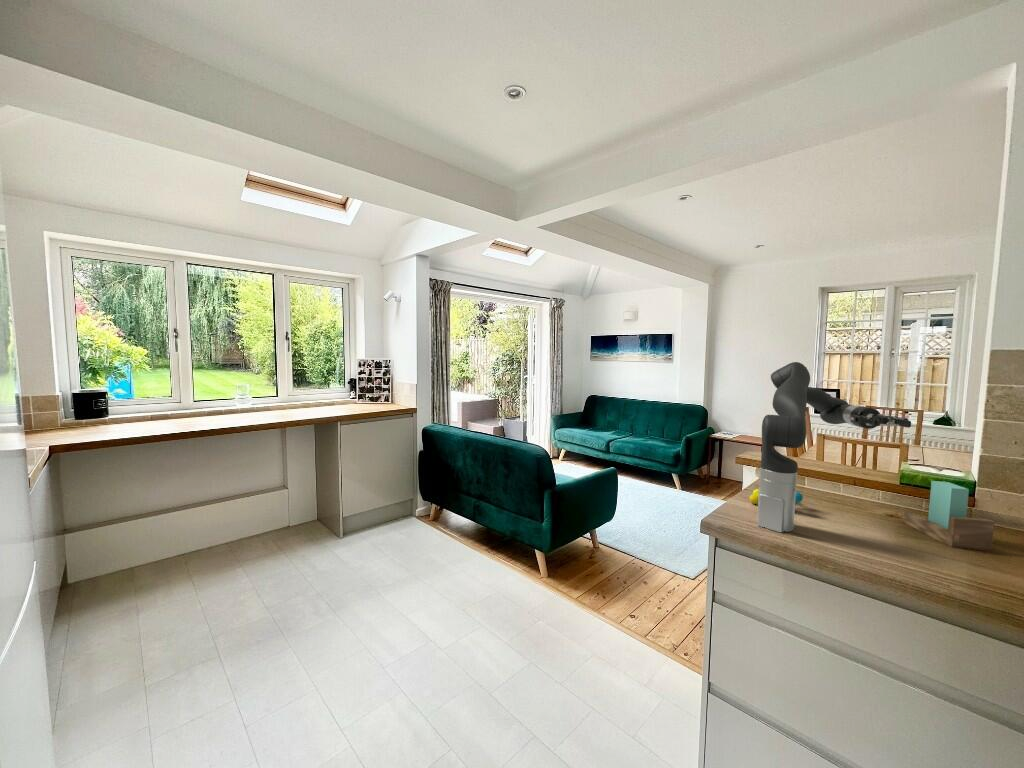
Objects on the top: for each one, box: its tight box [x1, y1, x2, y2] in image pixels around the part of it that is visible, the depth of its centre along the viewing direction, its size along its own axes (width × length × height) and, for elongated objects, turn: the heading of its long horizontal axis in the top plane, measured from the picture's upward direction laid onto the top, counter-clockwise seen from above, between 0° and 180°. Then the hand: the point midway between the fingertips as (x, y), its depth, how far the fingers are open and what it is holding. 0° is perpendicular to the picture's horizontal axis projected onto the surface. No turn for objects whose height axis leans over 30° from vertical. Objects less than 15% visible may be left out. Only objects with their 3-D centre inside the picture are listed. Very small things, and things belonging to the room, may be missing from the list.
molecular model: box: [749, 488, 804, 506], centre depth 141 cm, size 15×10×15 cm
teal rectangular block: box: [927, 480, 970, 530], centre depth 118 cm, size 7×4×14 cm, turn 168°
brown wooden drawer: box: [901, 510, 995, 551], centre depth 119 cm, size 18×9×8 cm, turn 169°
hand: (894, 423), depth 132 cm, fingers open, 8 cm apart
